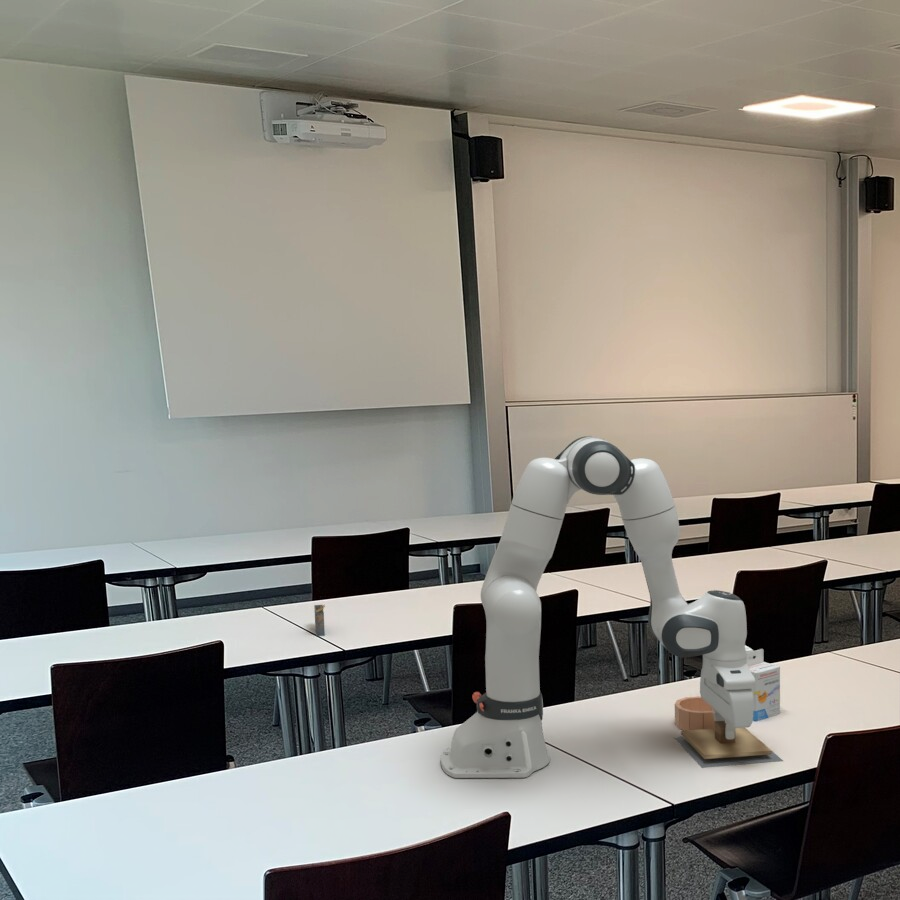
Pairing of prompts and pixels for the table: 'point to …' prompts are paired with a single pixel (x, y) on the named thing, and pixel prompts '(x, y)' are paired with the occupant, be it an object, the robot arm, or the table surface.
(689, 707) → the terracotta bowl
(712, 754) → the oak cover
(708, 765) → the rubber mat
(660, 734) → the table surface
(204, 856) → the table surface
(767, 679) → the ink box
